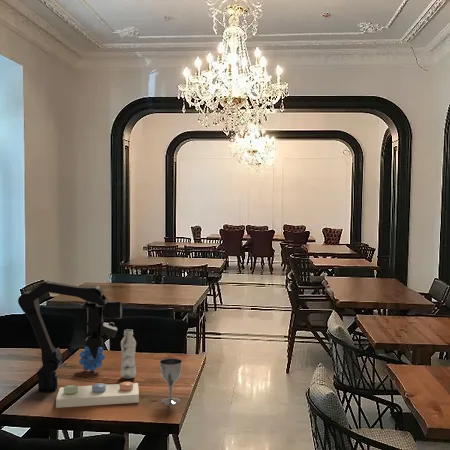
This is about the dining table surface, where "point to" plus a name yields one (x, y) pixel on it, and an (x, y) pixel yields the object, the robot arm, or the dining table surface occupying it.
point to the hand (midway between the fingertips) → (94, 358)
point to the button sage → (70, 389)
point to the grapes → (91, 359)
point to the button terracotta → (126, 386)
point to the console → (97, 396)
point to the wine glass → (170, 376)
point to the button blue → (98, 387)
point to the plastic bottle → (128, 355)
